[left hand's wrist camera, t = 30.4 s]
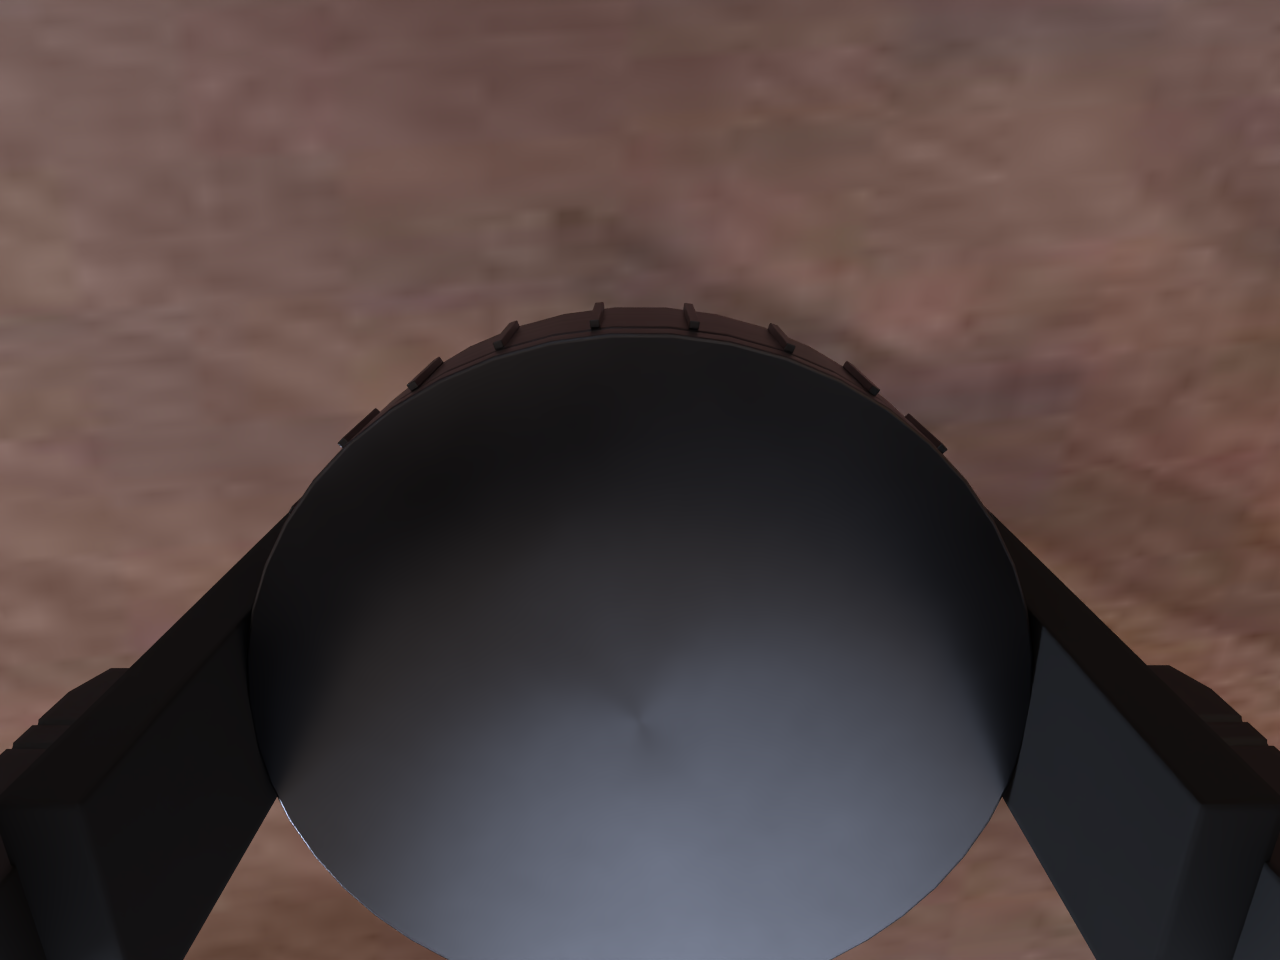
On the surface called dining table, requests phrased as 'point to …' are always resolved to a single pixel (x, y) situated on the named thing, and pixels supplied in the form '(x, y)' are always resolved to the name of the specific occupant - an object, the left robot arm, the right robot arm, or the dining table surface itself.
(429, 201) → the dining table surface
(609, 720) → the lid
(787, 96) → the dining table surface
